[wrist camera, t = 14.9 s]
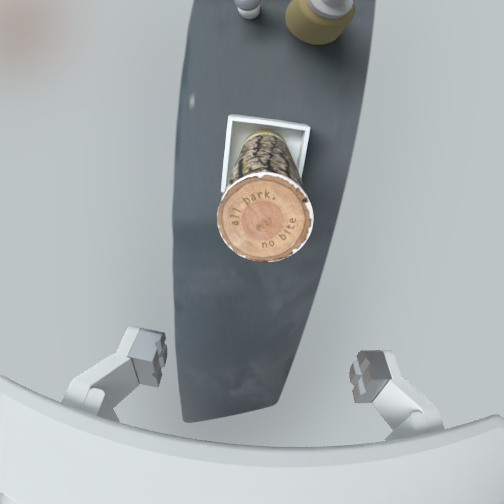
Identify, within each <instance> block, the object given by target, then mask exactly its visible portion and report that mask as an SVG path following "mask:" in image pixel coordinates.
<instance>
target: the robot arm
mask: <svg viewBox="0 0 504 504" xmlns="http://www.w3.org/2000/svg"><path fill="white" fill-rule="evenodd" d="M165 339H166V337H165V333H163V332H159V331H154V330H149V329H144V328H139V327H135V326H129V327H128V329H127V330H126V333H125V335H124V337H123V339H122V341H121V343H120V346H119V348H118V350H117V352H116V354H111V355H110V356H108V357H107V358H105V359H103V360H102V361H100V362H99V363H97V364H96V365H94V366H93V367H91V368H90V369H88V370H86V371H85V372H83V373H82V374H80V375H79V376H77V377H75V378H74V379H73V380H72V381H71V383H70V386H69V387H68V390H67V392H66V394H65V396H64V398H63V400H62V402H61V403H60V402H58V401H55V400H53V399H50V398H48V397H46V396H43V395H41V394H39V393H37V392H34V391H32V390H30V389H28V388H26V387H24V386H22V385H20V384H18V383H16V382H14V381H12V380H10V379H8V378H6V377H4V376H2V375H0V504H504V418H502V417H501V416H500V415H491V416H489V417H486V418H483V419H479V420H477V421H473V422H470V423H467V424H463V425H460V426H456V427H453V428H449V429H444V426H443V423H442V420H441V417H440V414H439V411H438V408H437V407H436V406H435V405H434V404H433V403H432V402H430V401H429V400H428V399H427V398H426V397H425V396H424V395H423V394H422V393H421V392H420V391H418V390H417V389H416V388H415V387H414V386H413V385H412V384H411V383H410V382H408V381H407V380H406V379H403V378H402V375H401V373H400V370H399V367H398V364H397V361H396V359H395V356H394V353H393V352H392V351H380V350H374V351H360V352H359V353H358V355H357V359H358V360H356V361H355V362H353V364H352V366H351V368H350V382H351V383H352V384H353V385H354V386H355V387H354V389H353V396H354V401H355V403H372V405H373V406H374V407H375V408H376V409H377V410H378V412H379V413H380V414H381V416H382V417H383V418H384V420H385V421H386V422H387V423H388V424H389V426H390V427H391V428H392V429H393V432H392V433H391V434H390V435H389V436H388V437H387V438H386V439H385V441H383V442H375V443H366V444H357V445H345V446H329V447H265V446H249V445H238V444H227V443H218V442H211V441H203V440H197V439H190V438H184V437H179V436H174V435H168V434H163V433H159V432H154V431H149V430H146V429H141V428H137V427H133V426H130V425H126V424H122V423H119V419H118V417H117V415H116V413H115V412H114V410H113V408H114V407H115V406H116V405H117V404H118V403H119V402H121V401H122V400H123V399H124V398H125V397H126V396H127V395H129V394H130V393H131V392H132V391H133V390H134V389H135V388H136V387H138V386H139V384H143V385H149V386H154V387H159V384H160V380H161V377H162V372H161V369H162V368H163V367H164V366H165V363H166V359H167V345H166V344H165V343H164V342H165Z"/></svg>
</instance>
